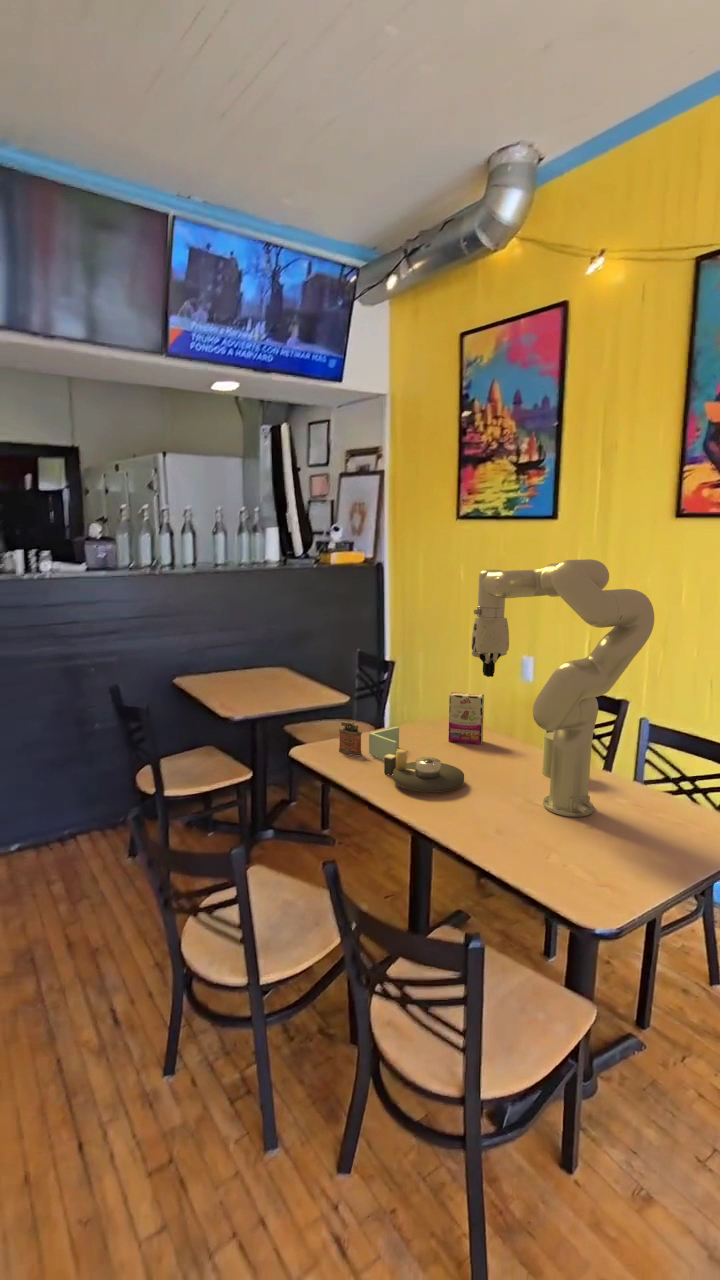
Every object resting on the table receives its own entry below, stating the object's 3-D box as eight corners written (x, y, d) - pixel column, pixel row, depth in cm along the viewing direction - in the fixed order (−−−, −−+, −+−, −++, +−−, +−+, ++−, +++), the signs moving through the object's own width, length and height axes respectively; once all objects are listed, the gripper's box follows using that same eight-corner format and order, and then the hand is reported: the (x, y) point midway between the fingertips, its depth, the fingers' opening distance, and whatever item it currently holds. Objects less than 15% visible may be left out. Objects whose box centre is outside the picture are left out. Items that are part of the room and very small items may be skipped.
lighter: (363, 753, 218) (363, 723, 216) (357, 756, 215) (358, 725, 214) (342, 749, 222) (342, 719, 221) (336, 751, 219) (336, 721, 218)
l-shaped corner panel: (394, 766, 208) (395, 742, 207) (368, 755, 217) (369, 733, 216) (422, 758, 216) (423, 735, 215) (396, 748, 225) (397, 726, 224)
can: (578, 779, 197) (580, 739, 195) (546, 779, 197) (548, 739, 195) (569, 768, 206) (571, 730, 204) (538, 768, 206) (540, 729, 204)
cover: (443, 773, 193) (444, 759, 192) (435, 781, 187) (435, 766, 186) (420, 769, 196) (420, 755, 195) (411, 777, 189) (411, 762, 189)
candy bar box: (482, 740, 232) (484, 693, 230) (481, 745, 228) (483, 697, 225) (450, 737, 235) (451, 691, 233) (447, 741, 231) (449, 694, 228)
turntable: (473, 773, 197) (474, 752, 196) (449, 797, 179) (449, 773, 178) (410, 762, 206) (410, 741, 205) (380, 783, 188) (381, 761, 187)
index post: (396, 773, 201) (396, 755, 200) (391, 775, 199) (391, 758, 198) (388, 771, 202) (389, 753, 201) (383, 773, 200) (384, 756, 199)
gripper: (473, 615, 189) (471, 680, 192) (520, 613, 194) (517, 677, 197) (461, 612, 196) (459, 674, 199) (507, 610, 201) (504, 671, 204)
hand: (488, 675), depth 198 cm, fingers closed
